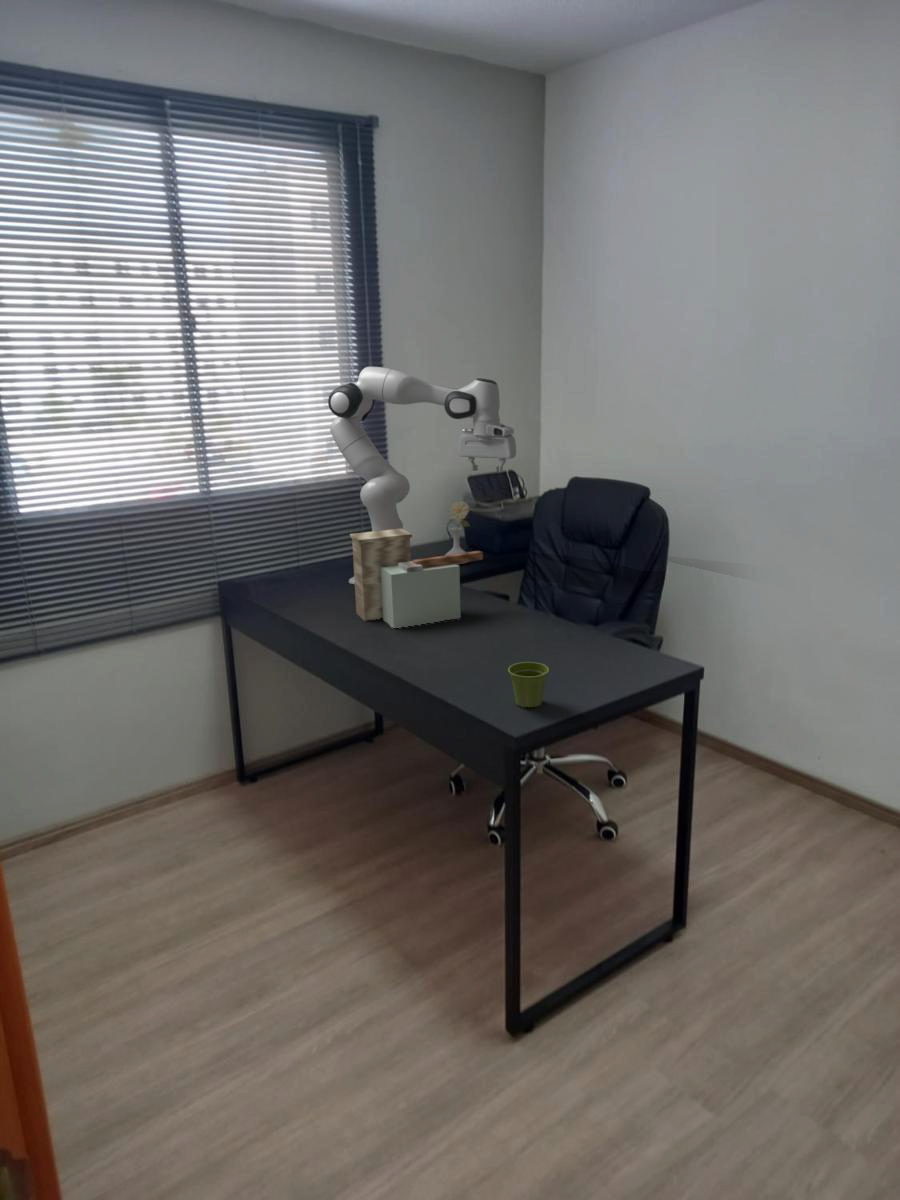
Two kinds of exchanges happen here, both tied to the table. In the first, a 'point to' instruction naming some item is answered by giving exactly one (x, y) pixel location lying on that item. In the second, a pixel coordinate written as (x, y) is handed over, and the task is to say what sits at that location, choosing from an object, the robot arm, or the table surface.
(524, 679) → the plant pot
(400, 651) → the table surface
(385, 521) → the robot arm
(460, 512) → the flower in vase
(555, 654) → the table surface
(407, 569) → the scraper
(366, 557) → the tall stand
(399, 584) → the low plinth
